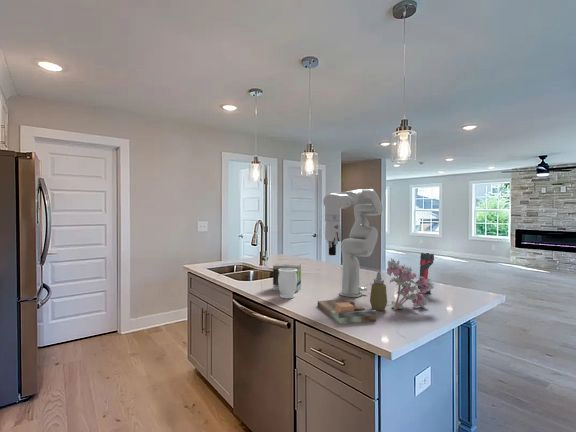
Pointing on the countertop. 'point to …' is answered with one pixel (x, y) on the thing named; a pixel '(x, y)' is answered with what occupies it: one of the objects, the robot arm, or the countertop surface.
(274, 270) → the tea box
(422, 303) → the flower
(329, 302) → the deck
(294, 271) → the jar
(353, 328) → the countertop surface
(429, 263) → the flashlight
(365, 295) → the countertop surface
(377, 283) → the squeeze bottle
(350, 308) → the block
